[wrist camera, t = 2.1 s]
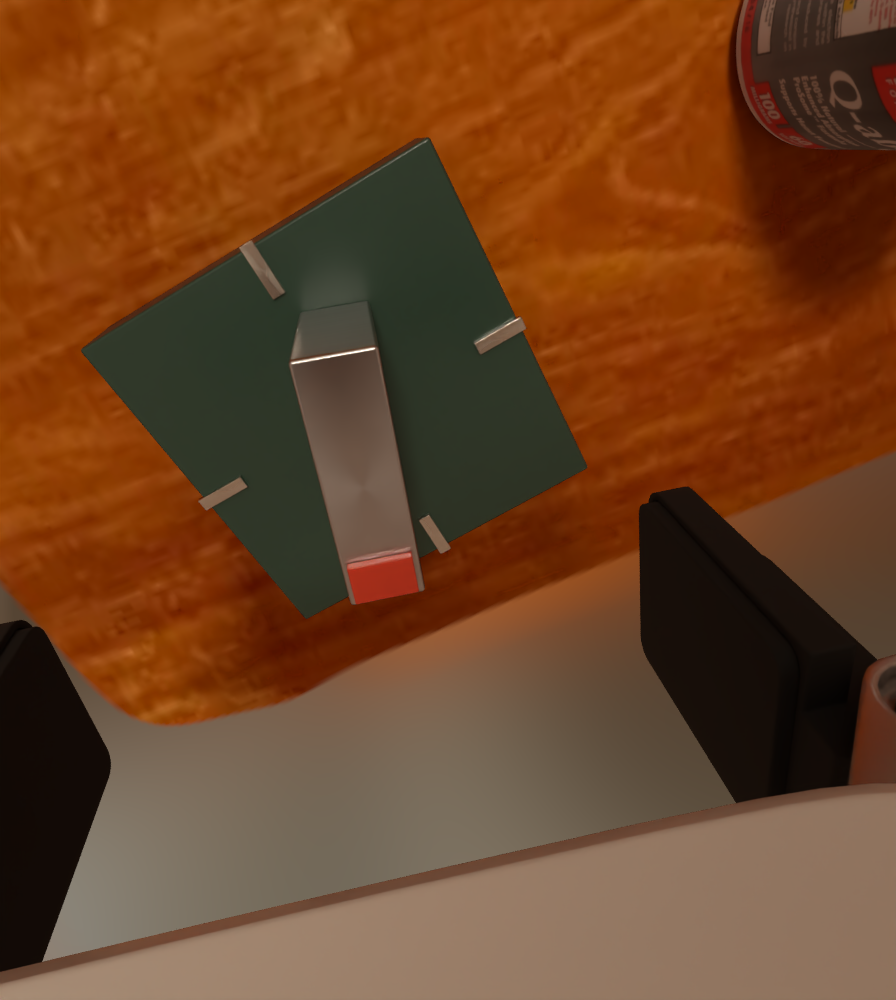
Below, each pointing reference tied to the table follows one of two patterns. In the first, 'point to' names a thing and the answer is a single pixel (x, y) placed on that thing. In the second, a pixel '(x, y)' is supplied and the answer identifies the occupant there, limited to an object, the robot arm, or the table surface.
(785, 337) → the table surface
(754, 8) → the pill bottle
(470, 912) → the robot arm
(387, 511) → the tap handle
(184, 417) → the panel
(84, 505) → the table surface
